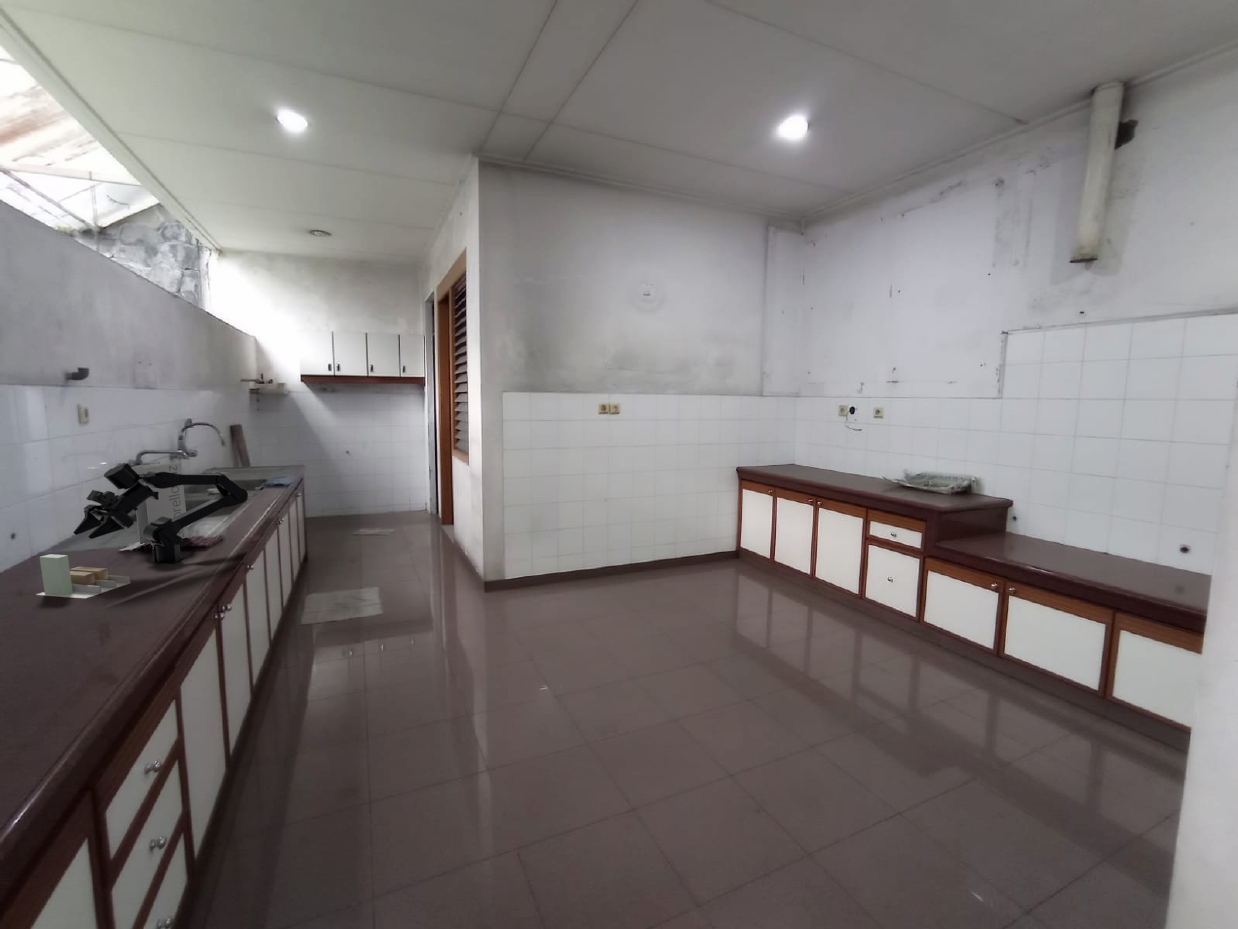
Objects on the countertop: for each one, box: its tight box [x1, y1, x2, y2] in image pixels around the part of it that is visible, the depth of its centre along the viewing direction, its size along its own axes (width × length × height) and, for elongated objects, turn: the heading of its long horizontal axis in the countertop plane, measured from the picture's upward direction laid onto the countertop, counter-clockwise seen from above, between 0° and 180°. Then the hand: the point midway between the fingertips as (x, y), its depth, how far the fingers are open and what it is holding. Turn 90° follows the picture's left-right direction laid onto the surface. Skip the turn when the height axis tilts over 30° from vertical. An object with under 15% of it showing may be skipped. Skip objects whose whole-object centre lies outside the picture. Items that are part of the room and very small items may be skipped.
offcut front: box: [70, 566, 109, 581], centre depth 165 cm, size 2×10×4 cm, turn 82°
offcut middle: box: [70, 571, 95, 586], centre depth 162 cm, size 2×10×4 cm, turn 82°
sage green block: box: [39, 553, 73, 597], centre depth 157 cm, size 2×6×11 cm, turn 82°
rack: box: [35, 574, 132, 599], centre depth 162 cm, size 13×16×3 cm
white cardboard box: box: [131, 461, 190, 546], centre depth 209 cm, size 14×6×30 cm, turn 168°
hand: (82, 535), depth 169 cm, fingers open, 9 cm apart
